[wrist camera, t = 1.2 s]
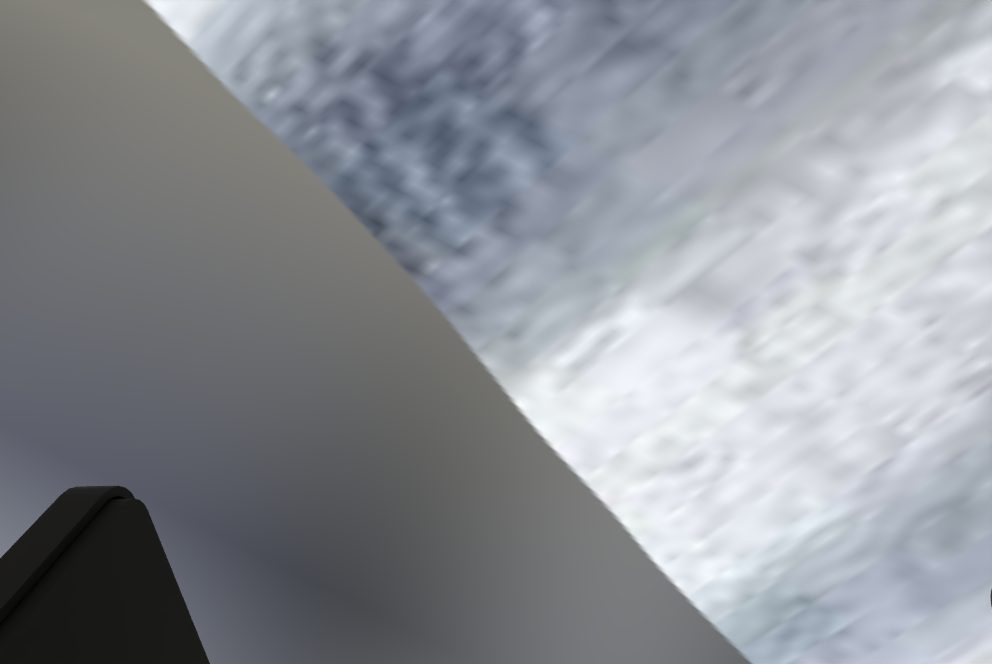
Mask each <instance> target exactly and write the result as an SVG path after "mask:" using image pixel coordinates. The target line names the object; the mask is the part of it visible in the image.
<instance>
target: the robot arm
mask: <svg viewBox="0 0 992 664" xmlns="http://www.w3.org/2000/svg"><path fill="white" fill-rule="evenodd" d="M0 664H210V663H209V661H208V658H207V656H206V653H205V651H204V648H203V646H202V643H201V641H200V639H199V636H198V633H197V631H196V628H195V626H194V623H193V621H192V619H191V616H190V614H189V611H188V609H187V606H186V604H185V601H184V599H183V597H182V594H181V591H180V589H179V586H178V584H177V582H176V579H175V577H174V574H173V572H172V569H171V567H170V564H169V562H168V559H167V557H166V554H165V552H164V549H163V547H162V545H161V542H160V540H159V537H158V534H157V532H156V530H155V527H154V525H153V522H152V520H151V517H150V515H149V512H148V510H147V508H146V506H145V505H144V503H142V502H141V501H140V500H137V499H135V498H134V496H133V494H132V493H131V492H130V491H129V490H128V489H126V488H124V487H120V486H90V487H89V486H87V487H74V488H70V489H68V490H67V491H65V492H64V493H63V494H61V495H60V496H59V498H58V499H57V500H56V501H55V502H54V503H53V504H52V505H51V506H50V507H49V508H48V509H47V510H46V511H45V512H44V513H43V514H42V515H41V516H40V517H39V518H38V520H37V521H36V522H35V523H34V524H33V525H32V526H31V527H30V528H29V529H28V530H27V531H26V532H25V533H24V534H23V536H21V537H20V538H19V540H18V541H17V542H16V543H15V544H14V545H13V546H12V547H11V548H10V549H9V550H8V551H7V552H6V553H5V554H4V555H3V556H2V557H1V558H0Z"/></svg>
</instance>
